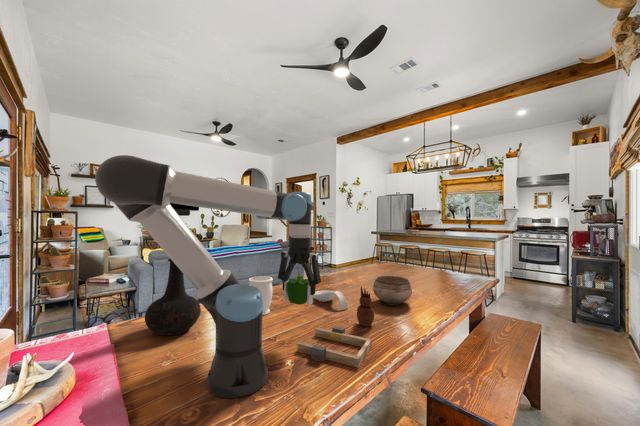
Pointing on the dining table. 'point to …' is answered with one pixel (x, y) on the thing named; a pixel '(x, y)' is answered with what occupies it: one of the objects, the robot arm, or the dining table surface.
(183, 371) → the dining table surface
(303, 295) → the bell pepper
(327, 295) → the spoon rest
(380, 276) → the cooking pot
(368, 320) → the wooden figurine
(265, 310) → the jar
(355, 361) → the tan wooden u-shaped frame
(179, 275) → the glass bottle
